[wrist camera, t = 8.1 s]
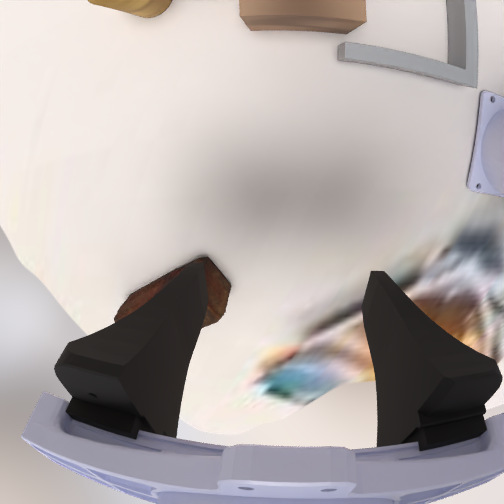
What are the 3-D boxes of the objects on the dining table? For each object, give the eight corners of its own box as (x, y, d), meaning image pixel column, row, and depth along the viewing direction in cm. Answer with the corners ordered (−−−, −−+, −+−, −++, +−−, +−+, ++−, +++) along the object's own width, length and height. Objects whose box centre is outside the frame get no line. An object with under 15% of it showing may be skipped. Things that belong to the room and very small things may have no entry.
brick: (205, 249, 25) (189, 286, 21) (233, 283, 26) (223, 322, 22) (126, 294, 29) (106, 327, 25) (152, 320, 30) (136, 354, 26)
